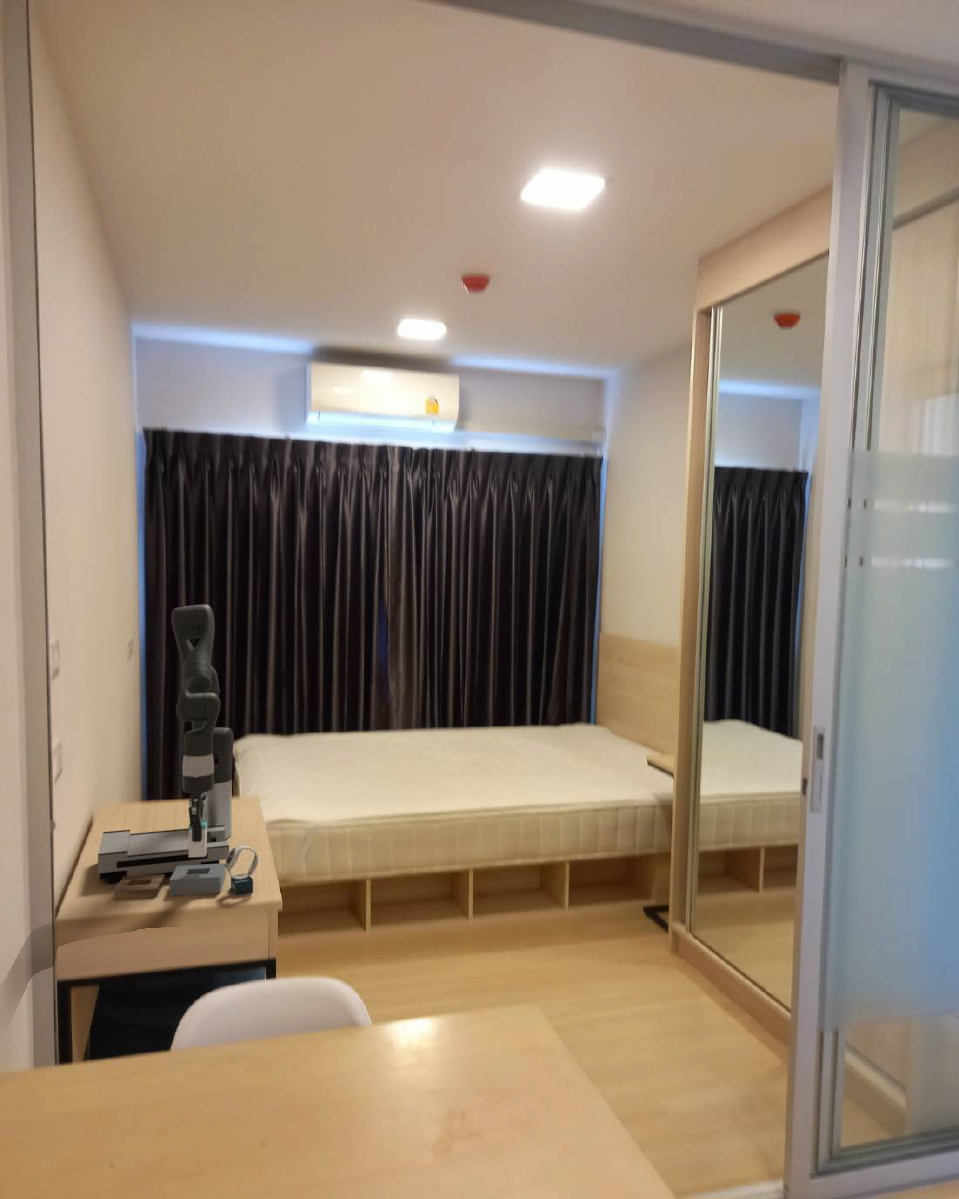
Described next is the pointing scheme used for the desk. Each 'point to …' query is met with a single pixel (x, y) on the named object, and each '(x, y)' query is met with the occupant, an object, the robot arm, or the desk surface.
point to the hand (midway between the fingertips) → (197, 839)
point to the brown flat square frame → (139, 886)
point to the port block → (197, 879)
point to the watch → (241, 881)
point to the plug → (198, 843)
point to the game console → (155, 852)
